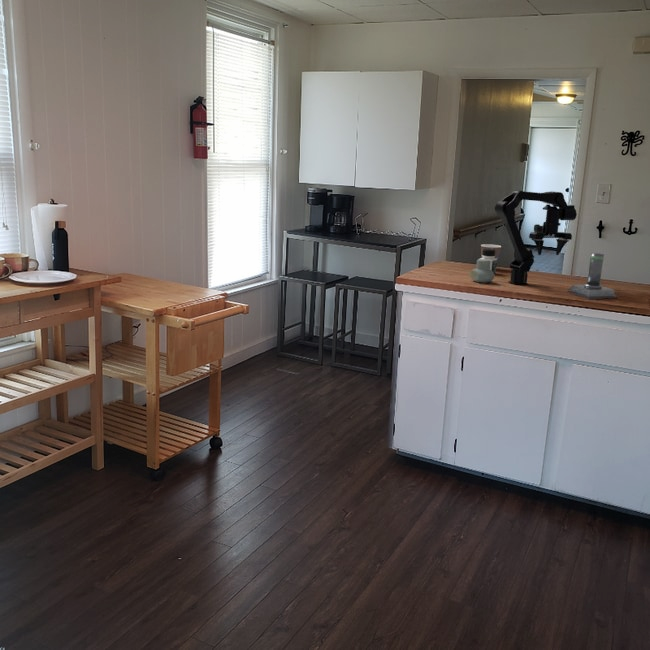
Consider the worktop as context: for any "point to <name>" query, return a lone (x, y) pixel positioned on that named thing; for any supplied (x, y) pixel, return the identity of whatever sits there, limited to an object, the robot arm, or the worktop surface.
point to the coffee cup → (490, 246)
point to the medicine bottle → (490, 258)
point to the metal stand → (592, 292)
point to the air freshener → (482, 272)
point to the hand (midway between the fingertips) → (548, 255)
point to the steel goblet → (595, 271)
